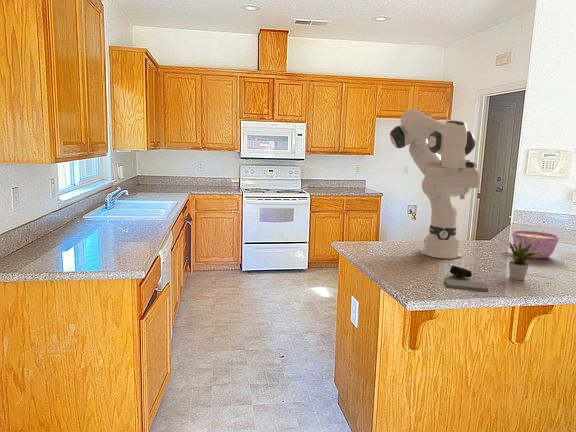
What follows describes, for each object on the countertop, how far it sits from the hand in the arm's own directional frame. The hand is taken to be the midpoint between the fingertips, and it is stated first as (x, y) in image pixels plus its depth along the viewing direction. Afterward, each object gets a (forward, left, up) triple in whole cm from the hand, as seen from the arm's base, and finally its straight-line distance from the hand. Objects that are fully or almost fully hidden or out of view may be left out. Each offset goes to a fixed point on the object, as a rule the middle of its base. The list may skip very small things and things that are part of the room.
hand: (449, 198), depth 168 cm
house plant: (-6, +28, -31) cm, 42 cm away
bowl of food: (-49, +46, -31) cm, 74 cm away
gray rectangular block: (+13, +7, -31) cm, 34 cm away
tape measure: (+5, +7, -31) cm, 32 cm away
